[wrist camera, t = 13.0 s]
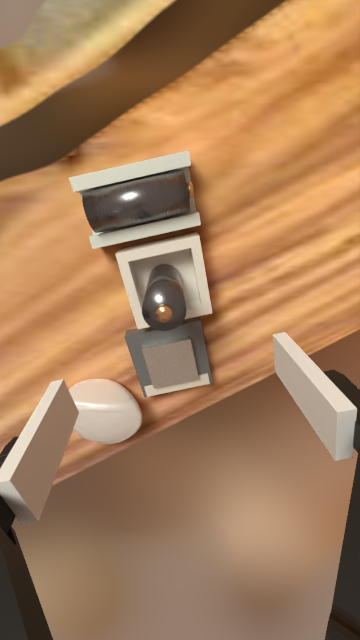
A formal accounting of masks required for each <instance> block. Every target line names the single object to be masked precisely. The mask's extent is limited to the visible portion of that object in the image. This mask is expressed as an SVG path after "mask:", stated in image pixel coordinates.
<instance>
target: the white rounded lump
mask: <svg viewBox="0 0 360 640" xmlns="http://www.w3.org/2000/svg"><path fill="white" fill-rule="evenodd" d="M69 392H70V394H71V396H72V398H73V401H74V403H75V405H76V407H77V409H78V411H79V415H78V417H77V420H76V423H75V425H74V428H73V430H74V431H75V432H76V433H77V434H78V435H80V436H81V437H83V438H85V439H87V440H90V441H94V442H97V443H103V444H113V443H118V442H121V441H124V440H126V439H128V438H129V437H131V436H132V435H134V434H135V433H136V432H137V431H138V429H139V428H140V426H141V423H142V413H141V410H140V407H139V405H138V403H137V401H136V400H135V398H134V397H133V396H132V394H131V393H130V392H129V391H128V390H127V389H126V388H125V387H123V386H122V385H120V384H119V383H117V382H115V381H112V380H108V379H89V380H84V381H81V382H78V383H77V384H75V385H74V386H72V387H71V388H70V389H69Z"/></svg>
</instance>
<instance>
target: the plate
mask: <svg viewBox="0 0 360 640" xmlns="http://www.w3.org/2000/svg"><path fill="white" fill-rule="evenodd" d="M142 352H143V355H144V358H145V362H146V365H147V368H148V372H149V375H150V378H151V381H152V385H153V388H159V387H164V386H169V385H173V384H178V383H183V382H188V381H192V380H197V379H199V377H198V372H197V368H196V363H195V358H194V354H193V349H192V344H191V340H190V336H187V337H182V338H178V339H173V340H168V341H163V342H159V343H154V344H149V345H145V346H142Z"/></svg>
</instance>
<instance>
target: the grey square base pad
mask: <svg viewBox="0 0 360 640" xmlns="http://www.w3.org/2000/svg"><path fill="white" fill-rule="evenodd" d="M187 336H190V340H191V344H192V349H193V354H194V358H195V363H196V368H197V372H198V377H199V379H197V380H192V381H188V382H183V383H178V384H173V385H169V386H164V387H159V388H153V385H152V381H151V378H150V375H149V372H148V368H147V365H146V362H145V358H144V355H143V352H142V346H145V345H149V344H154V343H159V342H163V341H168V340H173V339H178V338H182V337H187ZM125 339H126V342H127V345H128V348H129V351H130V354H131V357H132V361H133V364H134V367H135V370H136V373H137V376H138V379H139V382H140V385H141V388H142V391H143V394H144V397H149V396H153V395H158V394H163V393H168V392H173V391H177V390H182V389H187V388H192V387H196V386H201V385H206V384H210V383H213V381H212V376H211V371H210V365H209V360H208V355H207V350H206V344H205V339H204V334H203V329H202V323H201V319H200V316H198V317H193V318H188V319H184V321H183V322H182V324H181V325H180V326H178V327H177V328H175V329H173V330H170V331H159V330H155V329H153V328H152V327H147V328H142V329H138V328H137V329H132V330H127V331H126V334H125Z"/></svg>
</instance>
